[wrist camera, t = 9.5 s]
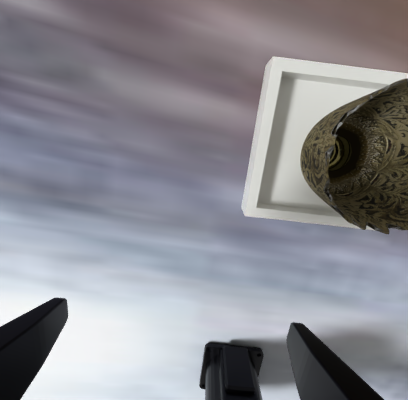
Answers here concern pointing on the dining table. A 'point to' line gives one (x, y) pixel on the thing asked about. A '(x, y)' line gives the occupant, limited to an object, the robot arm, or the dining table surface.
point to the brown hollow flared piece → (363, 159)
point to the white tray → (299, 134)
